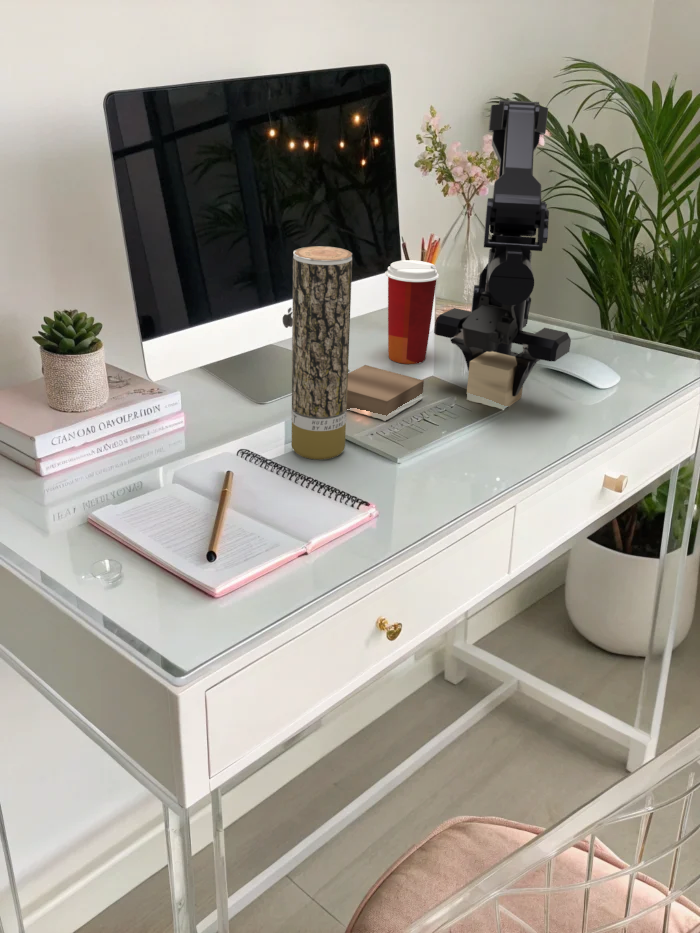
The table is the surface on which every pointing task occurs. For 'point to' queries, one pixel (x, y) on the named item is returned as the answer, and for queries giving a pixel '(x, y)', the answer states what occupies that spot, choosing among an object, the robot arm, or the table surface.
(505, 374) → the oak cube
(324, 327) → the paper tube
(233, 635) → the table surface
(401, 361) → the coffee cup
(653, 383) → the table surface
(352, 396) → the walnut base
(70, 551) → the table surface
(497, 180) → the robot arm
